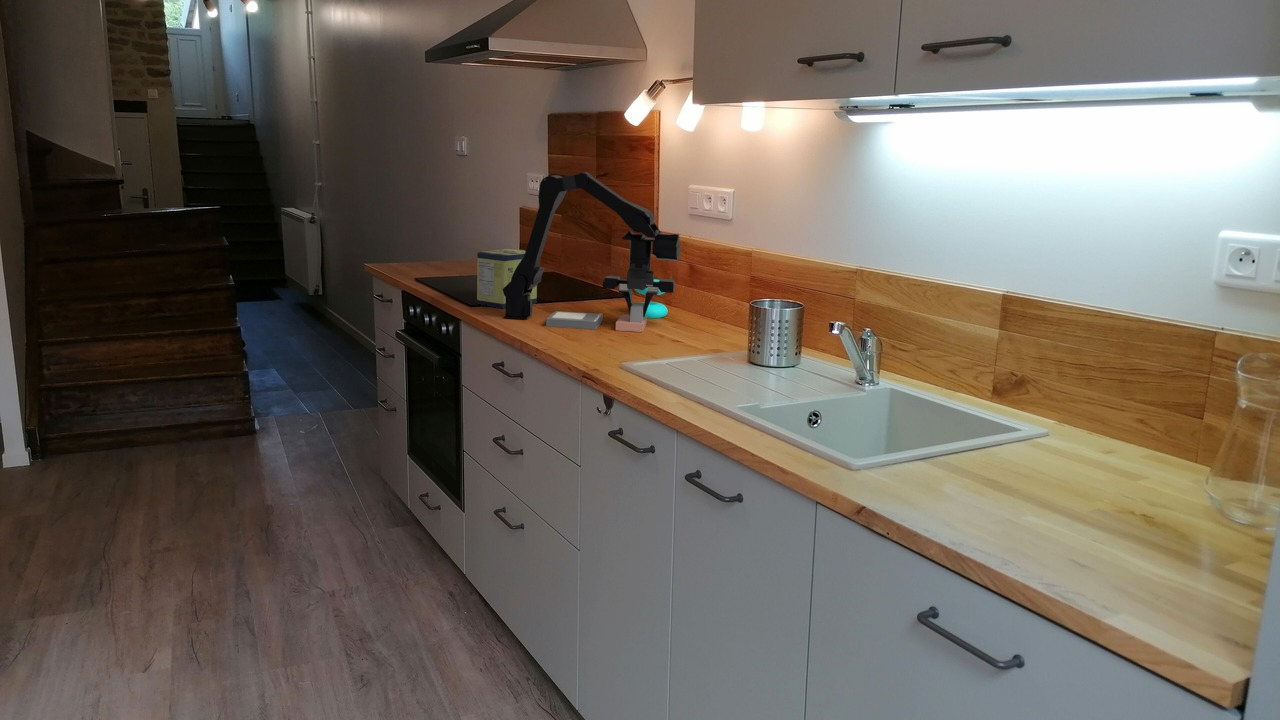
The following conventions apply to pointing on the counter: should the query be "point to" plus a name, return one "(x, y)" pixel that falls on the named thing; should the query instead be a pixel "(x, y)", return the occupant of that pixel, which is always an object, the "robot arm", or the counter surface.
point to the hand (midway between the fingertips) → (637, 316)
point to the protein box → (497, 276)
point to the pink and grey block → (633, 319)
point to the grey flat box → (574, 320)
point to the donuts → (654, 306)
